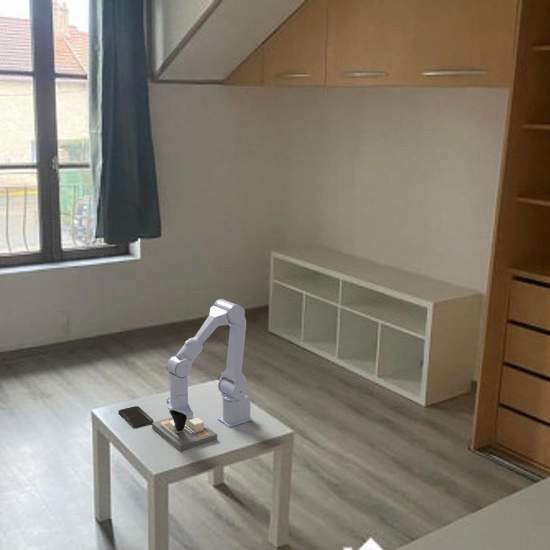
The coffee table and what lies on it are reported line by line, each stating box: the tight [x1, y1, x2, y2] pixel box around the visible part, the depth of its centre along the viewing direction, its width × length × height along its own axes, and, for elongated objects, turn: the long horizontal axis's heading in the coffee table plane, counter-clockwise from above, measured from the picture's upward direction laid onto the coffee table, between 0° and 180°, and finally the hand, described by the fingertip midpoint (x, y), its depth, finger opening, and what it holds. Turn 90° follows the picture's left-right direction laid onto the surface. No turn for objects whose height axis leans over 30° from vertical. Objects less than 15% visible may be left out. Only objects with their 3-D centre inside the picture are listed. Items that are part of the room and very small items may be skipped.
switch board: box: [151, 416, 218, 452], centre depth 245 cm, size 14×20×3 cm
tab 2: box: [189, 417, 205, 433], centre depth 244 cm, size 4×4×3 cm
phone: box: [118, 405, 154, 429], centre depth 258 cm, size 8×1×15 cm
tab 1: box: [168, 420, 182, 433], centre depth 243 cm, size 4×4×3 cm
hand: (180, 430), depth 241 cm, fingers closed
